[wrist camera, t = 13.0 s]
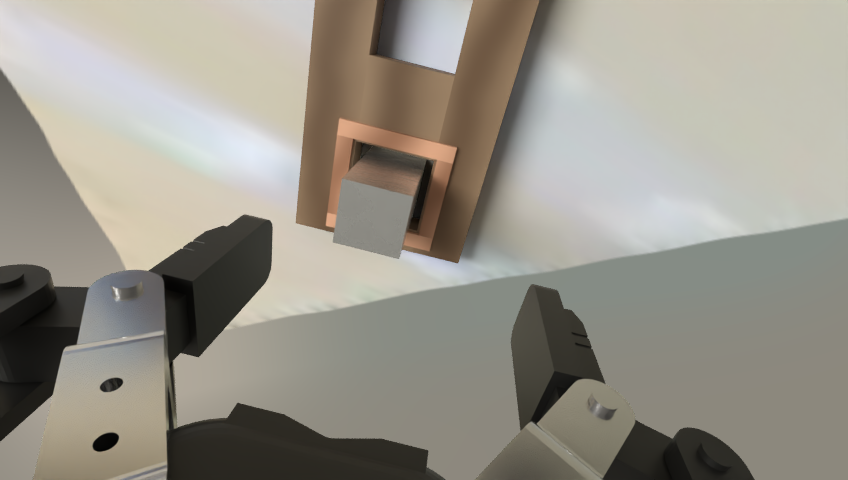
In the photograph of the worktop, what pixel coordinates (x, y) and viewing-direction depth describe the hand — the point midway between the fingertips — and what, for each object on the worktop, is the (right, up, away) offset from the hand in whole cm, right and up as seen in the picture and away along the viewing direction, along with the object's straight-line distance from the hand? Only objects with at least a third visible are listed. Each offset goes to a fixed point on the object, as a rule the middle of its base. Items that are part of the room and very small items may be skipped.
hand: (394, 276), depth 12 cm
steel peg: (-2, +6, +21) cm, 22 cm away
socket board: (0, +11, +18) cm, 22 cm away
